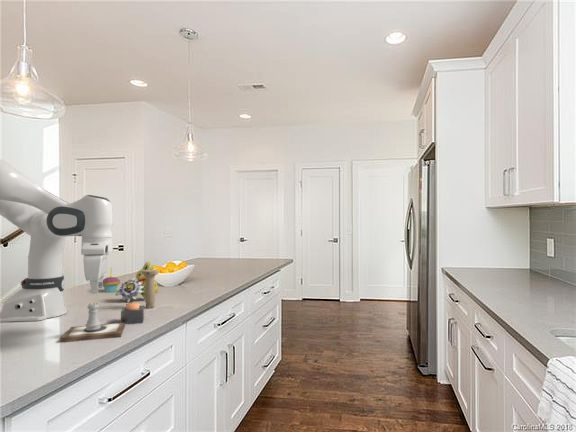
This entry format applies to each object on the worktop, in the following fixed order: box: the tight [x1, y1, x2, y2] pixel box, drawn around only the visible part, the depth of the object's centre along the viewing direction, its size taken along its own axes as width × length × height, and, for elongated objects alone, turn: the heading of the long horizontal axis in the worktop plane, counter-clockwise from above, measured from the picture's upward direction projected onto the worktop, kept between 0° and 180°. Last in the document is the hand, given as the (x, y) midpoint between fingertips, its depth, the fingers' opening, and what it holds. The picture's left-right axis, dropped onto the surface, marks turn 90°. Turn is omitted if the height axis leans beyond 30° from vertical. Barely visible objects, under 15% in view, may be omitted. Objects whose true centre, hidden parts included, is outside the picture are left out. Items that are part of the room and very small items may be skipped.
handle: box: [142, 269, 159, 309], centre depth 153 cm, size 5×6×15 cm
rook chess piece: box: [84, 302, 102, 331], centre depth 117 cm, size 4×4×8 cm
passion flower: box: [115, 277, 145, 304], centre depth 167 cm, size 11×11×12 cm
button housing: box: [120, 305, 145, 325], centre depth 132 cm, size 7×7×4 cm
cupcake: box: [102, 266, 121, 293], centre depth 187 cm, size 9×8×12 cm
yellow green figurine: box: [135, 261, 159, 293], centre depth 184 cm, size 7×11×15 cm, turn 86°
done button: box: [125, 302, 140, 310], centre depth 132 cm, size 4×4×3 cm
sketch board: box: [60, 322, 126, 343], centre depth 118 cm, size 16×12×2 cm
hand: (97, 290), depth 118 cm, fingers open, 8 cm apart
